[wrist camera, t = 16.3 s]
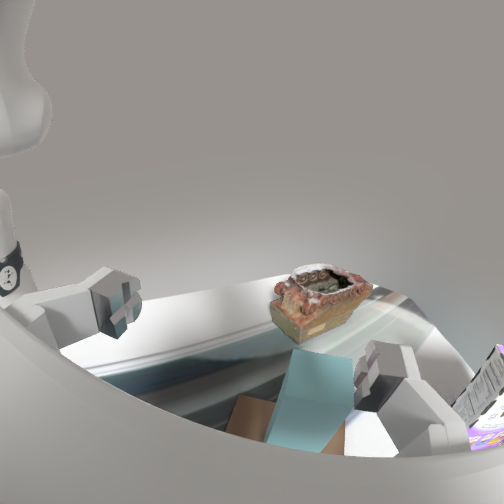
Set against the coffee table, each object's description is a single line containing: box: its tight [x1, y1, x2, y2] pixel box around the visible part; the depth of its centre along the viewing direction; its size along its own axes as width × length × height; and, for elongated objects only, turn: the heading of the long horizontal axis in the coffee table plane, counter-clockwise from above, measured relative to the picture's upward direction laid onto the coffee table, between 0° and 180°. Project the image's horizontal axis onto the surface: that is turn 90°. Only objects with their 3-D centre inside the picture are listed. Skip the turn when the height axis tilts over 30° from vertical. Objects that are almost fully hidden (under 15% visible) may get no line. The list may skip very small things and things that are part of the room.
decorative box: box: [270, 263, 373, 344], centre depth 49 cm, size 13×20×10 cm, turn 115°
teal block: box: [263, 349, 354, 453], centre depth 21 cm, size 5×5×14 cm
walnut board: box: [225, 394, 345, 455], centre depth 24 cm, size 14×14×1 cm
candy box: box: [450, 344, 504, 451], centre depth 19 cm, size 14×6×16 cm, turn 76°
